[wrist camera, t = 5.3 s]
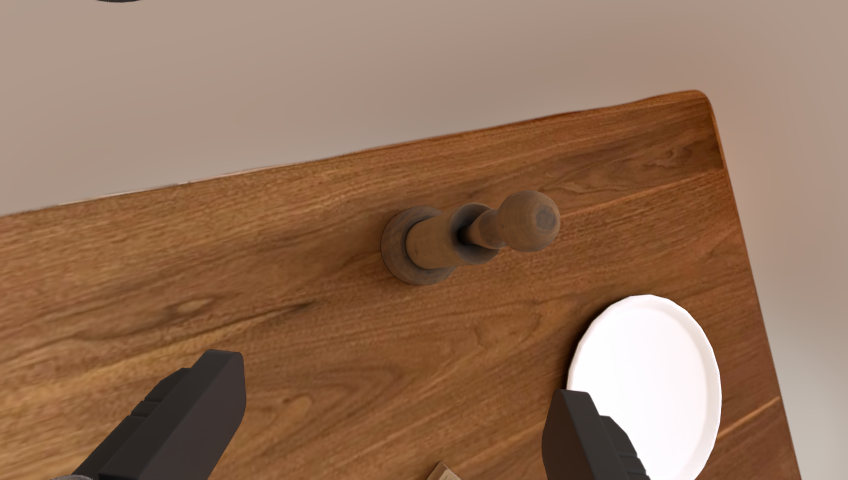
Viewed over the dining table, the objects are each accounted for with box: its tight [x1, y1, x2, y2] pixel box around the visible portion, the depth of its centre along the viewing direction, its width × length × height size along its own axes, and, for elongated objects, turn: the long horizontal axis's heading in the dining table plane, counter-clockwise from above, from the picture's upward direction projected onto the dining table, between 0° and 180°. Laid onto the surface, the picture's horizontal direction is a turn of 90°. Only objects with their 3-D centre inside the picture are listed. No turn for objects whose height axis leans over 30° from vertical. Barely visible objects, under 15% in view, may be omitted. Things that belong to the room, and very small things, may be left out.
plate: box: [565, 295, 722, 480], centre depth 42 cm, size 21×21×1 cm
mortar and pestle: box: [381, 190, 560, 285], centre depth 27 cm, size 7×6×18 cm
